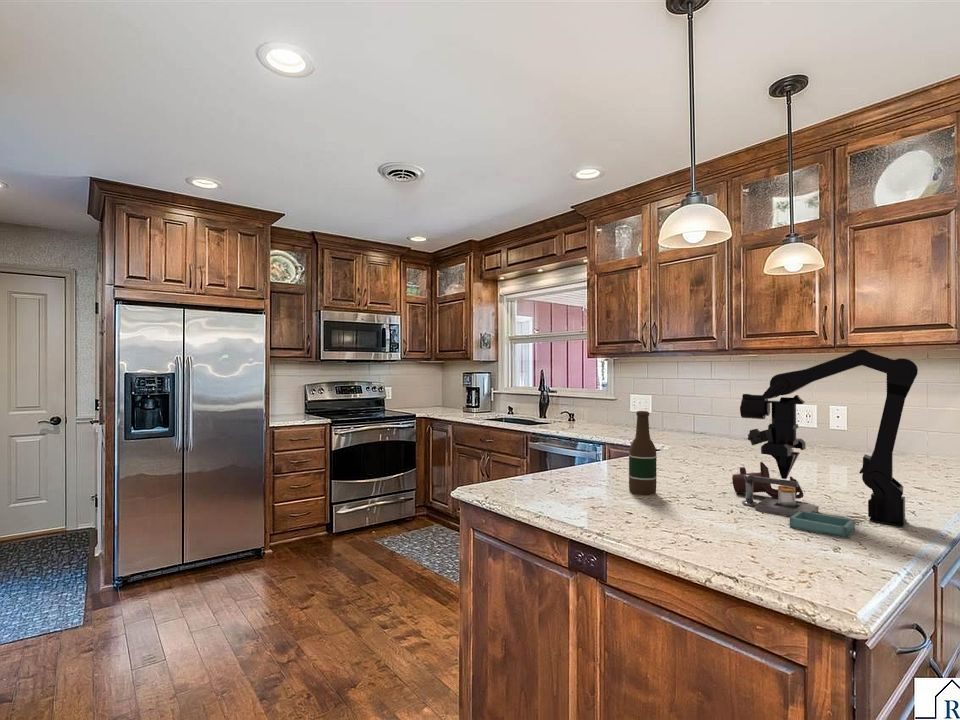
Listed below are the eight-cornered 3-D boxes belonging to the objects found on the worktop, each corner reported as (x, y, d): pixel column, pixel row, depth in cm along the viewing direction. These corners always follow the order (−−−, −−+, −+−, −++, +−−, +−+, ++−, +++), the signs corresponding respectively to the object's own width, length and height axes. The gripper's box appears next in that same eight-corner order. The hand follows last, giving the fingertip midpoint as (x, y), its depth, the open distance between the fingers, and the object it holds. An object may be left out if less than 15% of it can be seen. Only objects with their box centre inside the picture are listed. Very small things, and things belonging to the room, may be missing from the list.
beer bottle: (623, 490, 157) (623, 410, 158) (643, 488, 161) (643, 409, 161) (641, 496, 150) (641, 412, 151) (662, 494, 154) (662, 411, 154)
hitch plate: (818, 511, 135) (818, 486, 136) (808, 519, 128) (808, 493, 128) (748, 500, 147) (748, 477, 147) (735, 506, 140) (735, 482, 140)
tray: (854, 529, 121) (854, 519, 121) (846, 538, 114) (846, 528, 114) (799, 519, 128) (799, 510, 128) (789, 527, 122) (789, 517, 122)
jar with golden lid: (797, 511, 136) (797, 487, 136) (793, 514, 133) (793, 489, 134) (780, 508, 139) (780, 484, 139) (776, 511, 136) (776, 487, 136)
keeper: (742, 480, 142) (742, 475, 143) (745, 478, 144) (745, 474, 144) (796, 487, 134) (796, 483, 134) (799, 486, 135) (799, 481, 135)
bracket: (801, 495, 142) (794, 458, 146) (734, 498, 152) (730, 464, 156) (806, 499, 146) (799, 464, 150) (740, 503, 156) (736, 469, 160)
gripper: (762, 416, 154) (762, 470, 153) (739, 420, 140) (740, 479, 140) (805, 419, 146) (806, 475, 146) (786, 423, 133) (787, 485, 132)
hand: (784, 478), depth 141 cm, fingers closed
